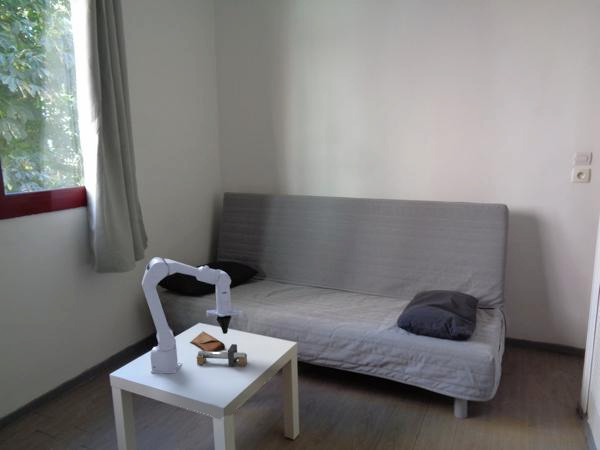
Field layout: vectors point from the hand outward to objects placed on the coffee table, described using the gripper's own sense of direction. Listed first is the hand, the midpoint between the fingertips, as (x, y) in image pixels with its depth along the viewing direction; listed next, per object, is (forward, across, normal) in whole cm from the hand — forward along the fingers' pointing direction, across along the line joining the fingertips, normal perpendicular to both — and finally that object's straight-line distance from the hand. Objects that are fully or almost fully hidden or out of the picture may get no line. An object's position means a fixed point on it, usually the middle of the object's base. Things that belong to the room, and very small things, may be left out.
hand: (225, 332), depth 185 cm
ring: (+10, +4, -6) cm, 13 cm away
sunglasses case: (+11, -12, +10) cm, 19 cm away
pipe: (+10, 0, -6) cm, 12 cm away
